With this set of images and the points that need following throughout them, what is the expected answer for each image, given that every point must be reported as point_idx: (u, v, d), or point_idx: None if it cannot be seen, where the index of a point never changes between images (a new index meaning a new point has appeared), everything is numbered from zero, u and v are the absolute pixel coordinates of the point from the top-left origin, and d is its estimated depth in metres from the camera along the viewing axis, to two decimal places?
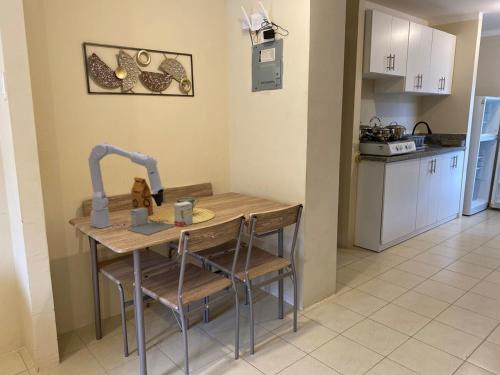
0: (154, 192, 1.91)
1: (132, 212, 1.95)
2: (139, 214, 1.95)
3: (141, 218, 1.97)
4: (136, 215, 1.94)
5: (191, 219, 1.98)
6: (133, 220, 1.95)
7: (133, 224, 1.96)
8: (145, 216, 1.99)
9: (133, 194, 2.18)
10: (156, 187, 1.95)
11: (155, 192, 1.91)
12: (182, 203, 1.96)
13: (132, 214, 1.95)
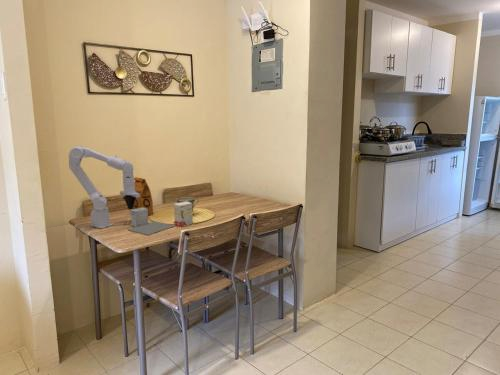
0: (137, 195, 1.96)
1: (132, 212, 1.95)
2: (139, 214, 1.95)
3: (141, 218, 1.97)
4: (136, 215, 1.94)
5: (191, 219, 1.98)
6: (133, 220, 1.95)
7: (133, 224, 1.96)
8: (145, 216, 1.99)
9: None
10: (133, 191, 1.99)
11: (138, 195, 1.96)
12: (182, 203, 1.96)
13: (132, 214, 1.95)
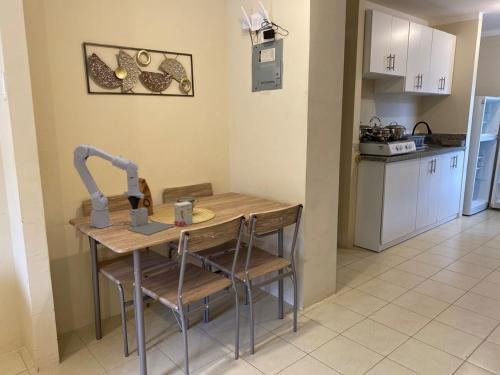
0: (142, 196, 1.94)
1: (132, 212, 1.95)
2: (139, 214, 1.95)
3: (141, 218, 1.97)
4: (136, 215, 1.94)
5: (191, 219, 1.98)
6: (133, 220, 1.95)
7: (133, 224, 1.96)
8: (145, 216, 1.99)
9: None
10: (137, 192, 1.97)
11: (143, 196, 1.94)
12: (182, 203, 1.96)
13: (132, 214, 1.95)
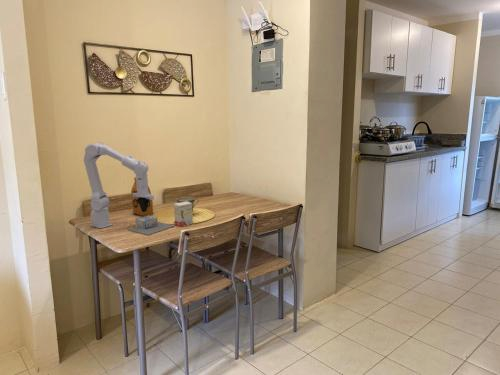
0: (151, 197, 1.89)
1: (144, 224, 1.90)
2: None
3: None
4: None
5: (191, 219, 1.98)
6: (139, 224, 1.92)
7: (136, 222, 1.94)
8: None
9: None
10: (147, 193, 1.92)
11: (152, 197, 1.90)
12: (182, 203, 1.96)
13: (143, 223, 1.90)
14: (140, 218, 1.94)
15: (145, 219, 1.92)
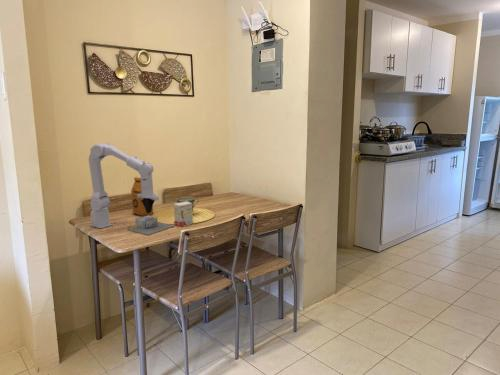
0: (156, 198, 1.87)
1: (144, 224, 1.90)
2: None
3: None
4: None
5: (191, 219, 1.98)
6: (139, 224, 1.92)
7: (136, 222, 1.94)
8: None
9: (133, 194, 2.18)
10: (151, 194, 1.90)
11: (157, 198, 1.88)
12: (182, 203, 1.96)
13: (143, 223, 1.90)
14: (140, 218, 1.94)
15: (145, 219, 1.92)
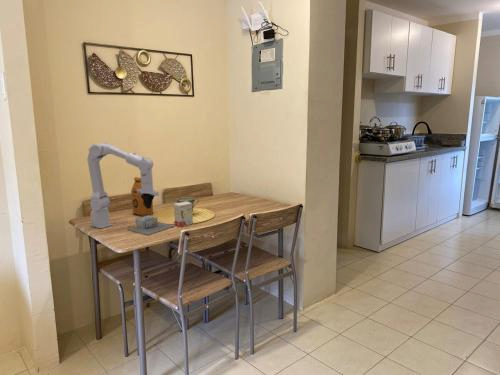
0: (156, 194, 1.87)
1: (144, 224, 1.90)
2: None
3: None
4: None
5: (191, 219, 1.98)
6: (139, 224, 1.92)
7: (136, 222, 1.94)
8: None
9: (133, 194, 2.18)
10: (151, 189, 1.90)
11: (157, 194, 1.87)
12: (182, 203, 1.96)
13: (143, 223, 1.90)
14: (140, 218, 1.94)
15: (145, 219, 1.92)
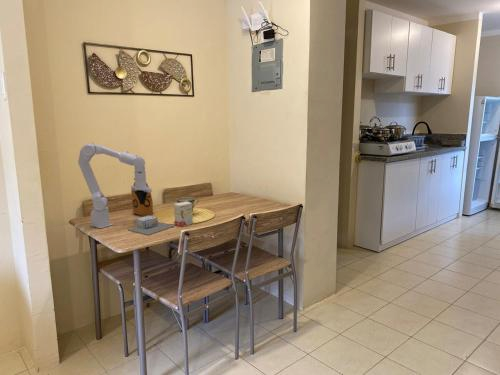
0: (149, 190, 1.96)
1: (144, 224, 1.90)
2: None
3: None
4: None
5: (191, 219, 1.98)
6: (139, 224, 1.92)
7: (136, 222, 1.94)
8: None
9: (133, 194, 2.18)
10: (145, 186, 1.99)
11: (150, 190, 1.96)
12: (182, 203, 1.96)
13: (143, 223, 1.90)
14: (140, 218, 1.94)
15: (145, 219, 1.92)
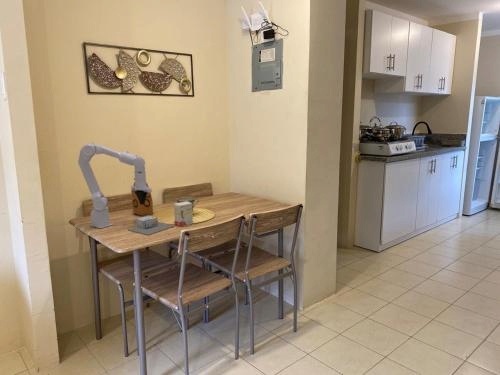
0: (149, 190, 1.96)
1: (144, 224, 1.90)
2: None
3: None
4: None
5: (191, 219, 1.98)
6: (139, 224, 1.92)
7: (136, 222, 1.94)
8: None
9: (133, 194, 2.18)
10: (145, 186, 1.99)
11: (150, 190, 1.96)
12: (182, 203, 1.96)
13: (143, 223, 1.90)
14: (140, 218, 1.94)
15: (145, 219, 1.92)
